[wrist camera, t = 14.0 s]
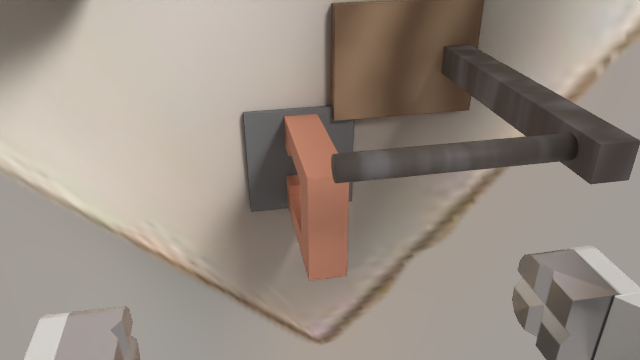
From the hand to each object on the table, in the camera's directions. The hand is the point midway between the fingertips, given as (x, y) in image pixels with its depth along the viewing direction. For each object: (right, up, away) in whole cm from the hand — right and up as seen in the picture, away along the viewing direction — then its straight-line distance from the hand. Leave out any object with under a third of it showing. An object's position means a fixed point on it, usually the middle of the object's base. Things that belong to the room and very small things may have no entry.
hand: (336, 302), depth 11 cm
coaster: (-2, +5, +39) cm, 40 cm away
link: (-2, +4, +39) cm, 39 cm away
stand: (+5, +13, +36) cm, 39 cm away
